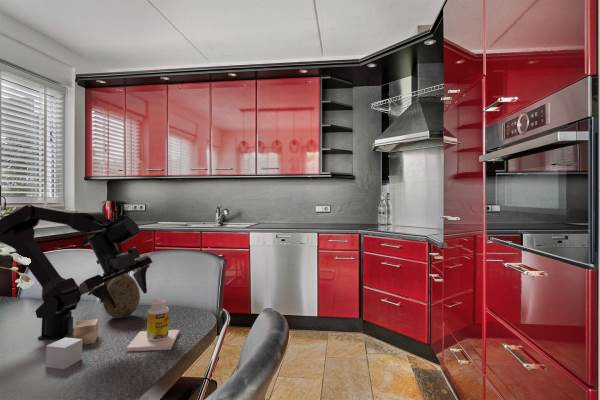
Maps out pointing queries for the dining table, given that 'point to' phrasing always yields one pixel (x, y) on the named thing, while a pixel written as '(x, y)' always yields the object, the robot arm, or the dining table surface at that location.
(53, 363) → the pale grey block
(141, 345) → the cream square tile
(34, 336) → the dining table surface
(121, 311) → the decorative egg
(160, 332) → the supplement bottle
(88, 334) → the birch block
